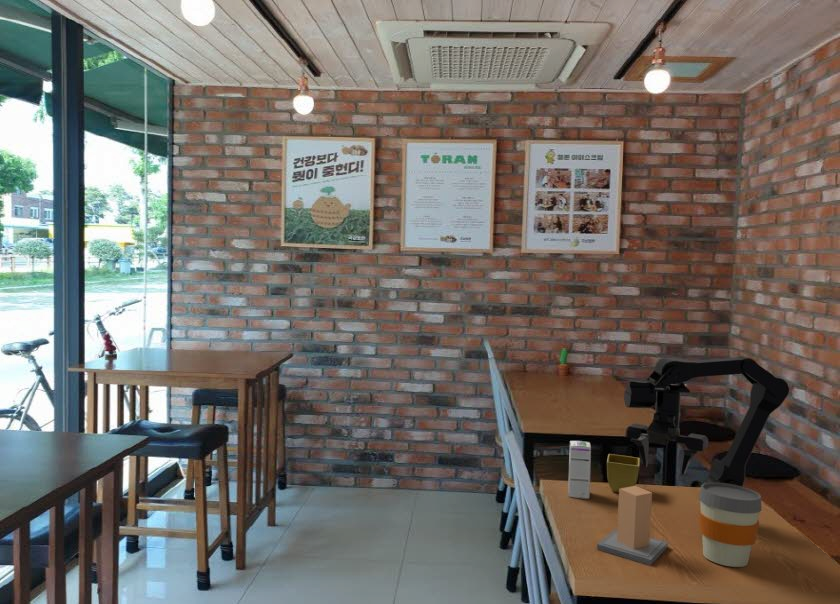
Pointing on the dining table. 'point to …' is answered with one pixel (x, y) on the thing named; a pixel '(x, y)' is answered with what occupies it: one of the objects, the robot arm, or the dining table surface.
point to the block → (634, 517)
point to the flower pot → (622, 471)
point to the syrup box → (579, 469)
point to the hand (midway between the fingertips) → (664, 470)
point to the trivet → (639, 554)
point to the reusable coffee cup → (728, 522)
